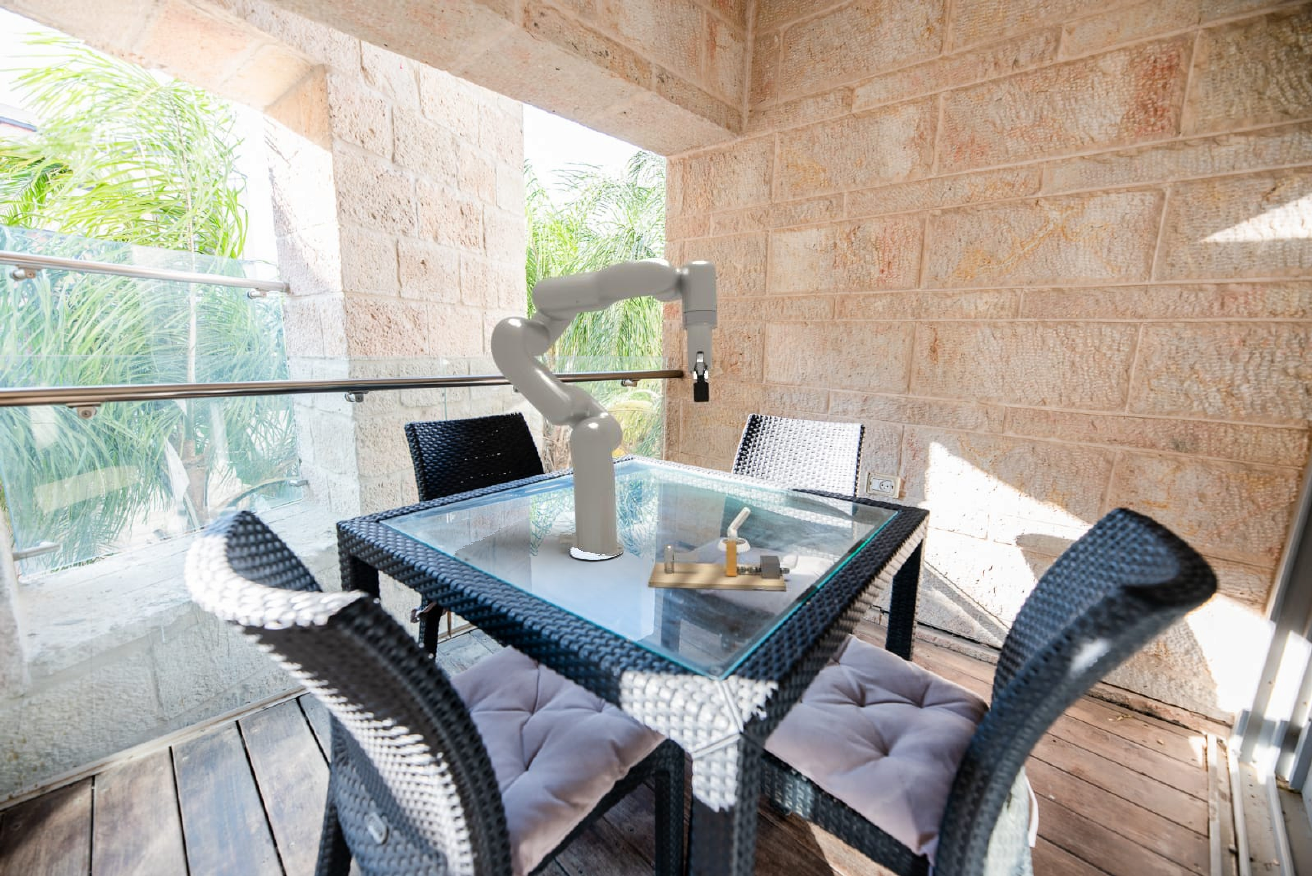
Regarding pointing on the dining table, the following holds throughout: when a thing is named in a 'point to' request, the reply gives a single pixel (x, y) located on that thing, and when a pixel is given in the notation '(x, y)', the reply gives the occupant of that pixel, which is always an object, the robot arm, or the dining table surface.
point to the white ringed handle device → (733, 533)
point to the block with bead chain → (732, 562)
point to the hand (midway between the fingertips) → (701, 401)
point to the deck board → (711, 578)
